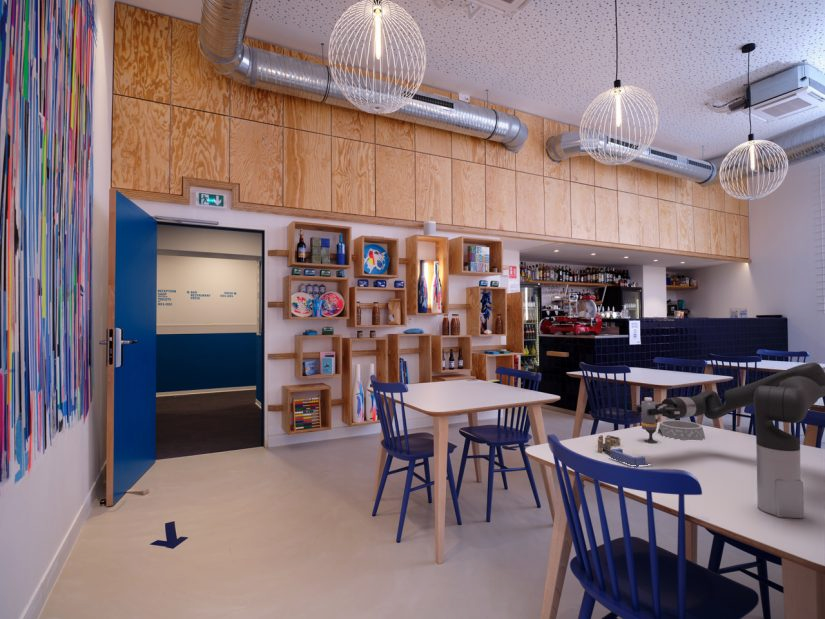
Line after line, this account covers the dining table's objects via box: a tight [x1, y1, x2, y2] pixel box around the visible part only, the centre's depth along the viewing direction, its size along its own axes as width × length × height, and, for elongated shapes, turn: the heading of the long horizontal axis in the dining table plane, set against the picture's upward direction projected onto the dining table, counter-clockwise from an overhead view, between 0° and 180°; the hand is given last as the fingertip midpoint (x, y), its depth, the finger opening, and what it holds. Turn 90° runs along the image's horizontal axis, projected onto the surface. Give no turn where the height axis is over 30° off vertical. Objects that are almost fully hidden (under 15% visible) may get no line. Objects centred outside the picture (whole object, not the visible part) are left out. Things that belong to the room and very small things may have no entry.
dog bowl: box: [657, 419, 706, 441], centre depth 200 cm, size 17×18×5 cm
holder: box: [609, 447, 651, 468], centre depth 163 cm, size 8×12×3 cm, turn 20°
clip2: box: [597, 434, 612, 449], centre depth 181 cm, size 4×3×4 cm
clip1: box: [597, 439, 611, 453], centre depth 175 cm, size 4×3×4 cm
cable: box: [602, 442, 612, 455], centre depth 178 cm, size 16×4×1 cm, turn 155°
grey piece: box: [640, 396, 658, 431], centre depth 162 cm, size 5×5×11 cm
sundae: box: [644, 415, 660, 444], centre depth 190 cm, size 7×7×15 cm
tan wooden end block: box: [604, 434, 621, 448], centre depth 185 cm, size 4×4×3 cm
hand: (642, 411), depth 161 cm, fingers closed on grey piece, 4 cm apart
